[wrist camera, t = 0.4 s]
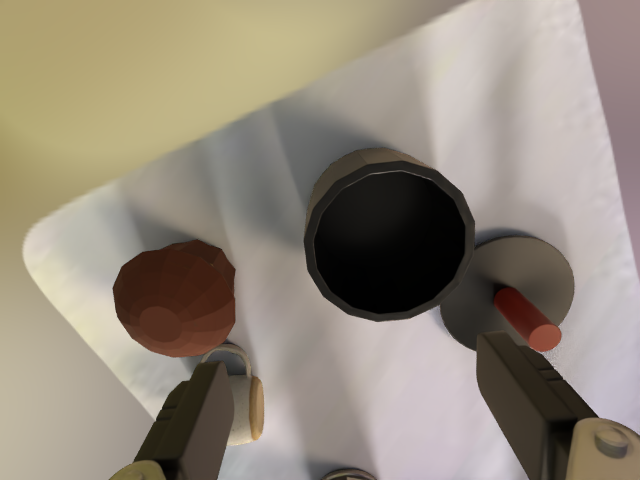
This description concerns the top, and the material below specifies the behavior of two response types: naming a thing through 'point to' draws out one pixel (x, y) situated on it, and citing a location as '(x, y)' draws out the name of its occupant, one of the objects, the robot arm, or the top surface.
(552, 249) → the lid
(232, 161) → the top surface
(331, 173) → the pot
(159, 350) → the muffin
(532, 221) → the top surface
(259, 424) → the ceramic mug
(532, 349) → the robot arm
